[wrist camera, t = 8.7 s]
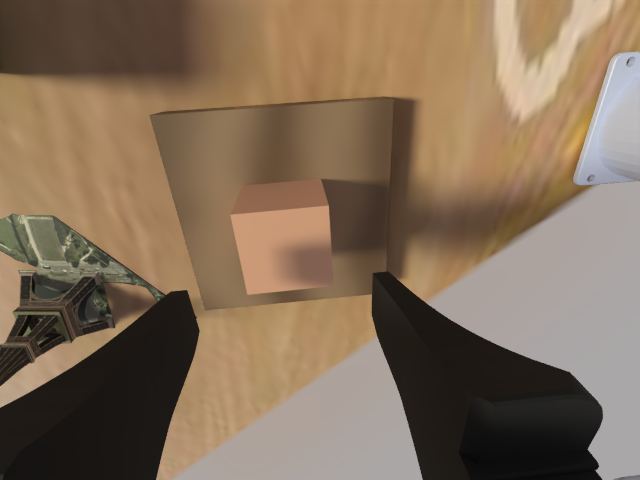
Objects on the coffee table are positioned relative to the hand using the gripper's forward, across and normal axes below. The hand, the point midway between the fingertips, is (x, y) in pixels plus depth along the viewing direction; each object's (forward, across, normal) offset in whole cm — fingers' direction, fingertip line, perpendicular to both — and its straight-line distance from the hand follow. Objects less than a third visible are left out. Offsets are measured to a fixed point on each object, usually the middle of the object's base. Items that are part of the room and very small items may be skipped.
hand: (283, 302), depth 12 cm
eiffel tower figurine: (+11, +16, +6) cm, 21 cm away
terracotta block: (+8, 0, 0) cm, 8 cm away
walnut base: (+10, 0, 0) cm, 10 cm away
